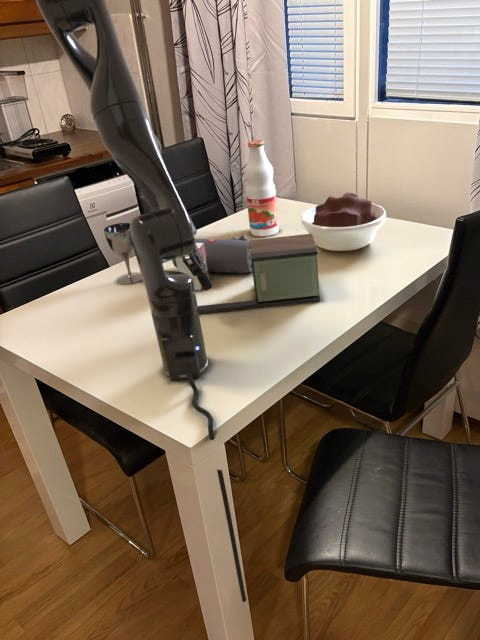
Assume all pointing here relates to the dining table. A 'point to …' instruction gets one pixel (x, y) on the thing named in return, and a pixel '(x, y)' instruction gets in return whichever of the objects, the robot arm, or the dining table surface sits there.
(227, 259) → the bluetooth speaker
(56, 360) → the dining table surface
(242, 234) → the animal figurine
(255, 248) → the box
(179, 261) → the small box
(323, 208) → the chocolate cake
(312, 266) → the door
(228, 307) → the track
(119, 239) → the wine glass
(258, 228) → the fruit juice
